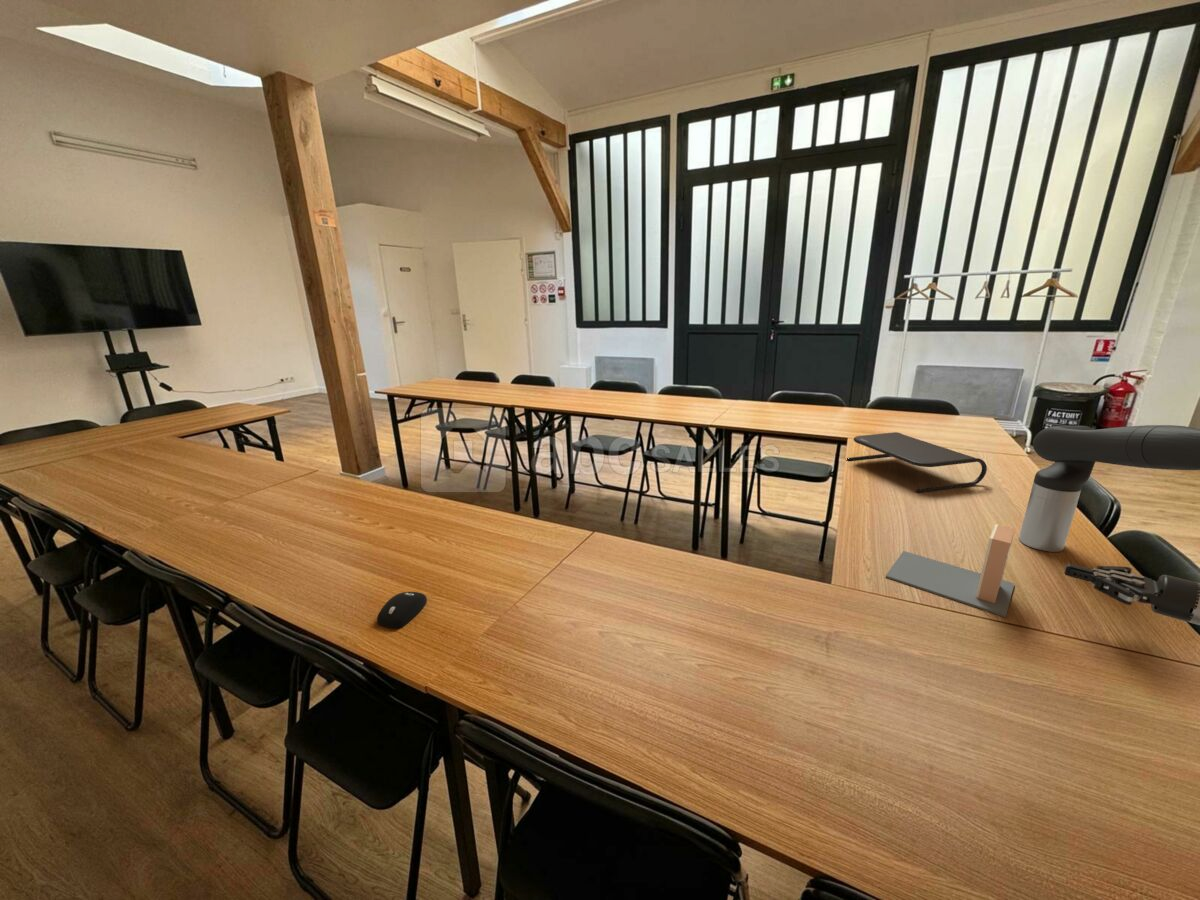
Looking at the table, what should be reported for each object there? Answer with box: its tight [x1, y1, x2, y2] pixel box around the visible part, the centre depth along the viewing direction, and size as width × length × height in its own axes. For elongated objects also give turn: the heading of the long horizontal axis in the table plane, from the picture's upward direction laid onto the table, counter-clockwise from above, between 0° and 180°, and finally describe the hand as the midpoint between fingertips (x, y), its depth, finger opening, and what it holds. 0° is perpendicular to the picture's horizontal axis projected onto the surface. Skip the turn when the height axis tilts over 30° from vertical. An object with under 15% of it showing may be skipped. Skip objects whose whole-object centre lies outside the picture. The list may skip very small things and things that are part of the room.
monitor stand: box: [845, 431, 988, 494], centre depth 183 cm, size 37×28×11 cm
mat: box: [885, 550, 1015, 618], centre depth 115 cm, size 16×23×1 cm
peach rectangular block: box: [975, 523, 1016, 603], centre depth 107 cm, size 9×4×15 cm, turn 135°
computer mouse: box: [376, 591, 428, 630], centre depth 110 cm, size 8×12×4 cm, turn 161°
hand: (1065, 568), depth 99 cm, fingers closed
